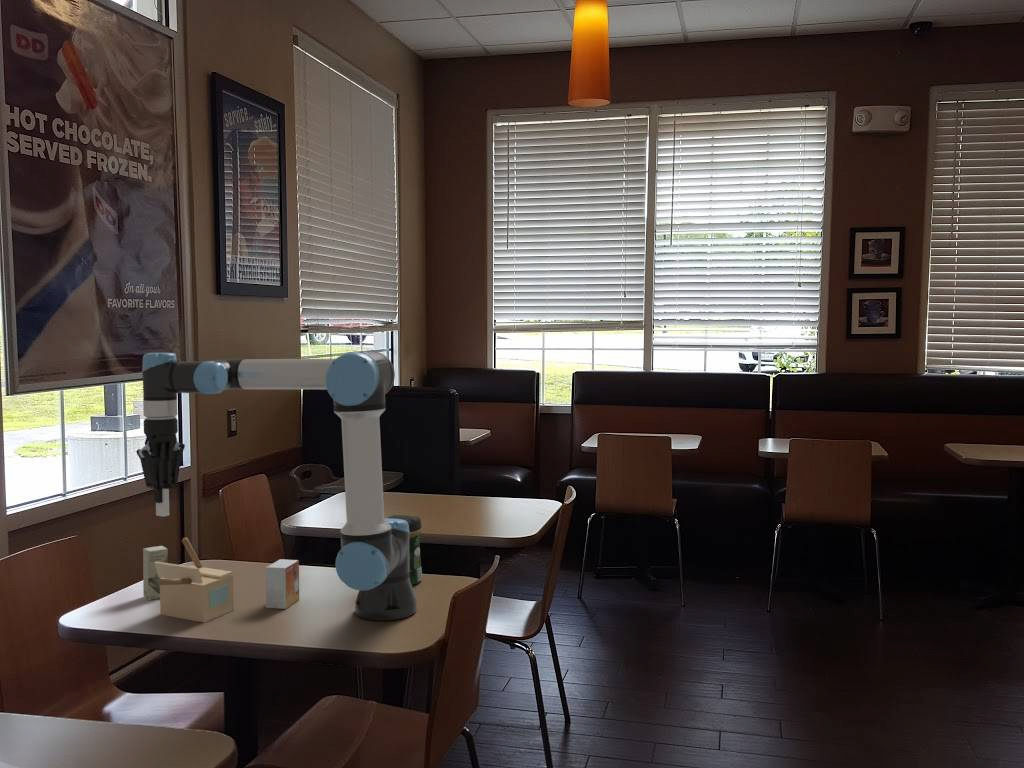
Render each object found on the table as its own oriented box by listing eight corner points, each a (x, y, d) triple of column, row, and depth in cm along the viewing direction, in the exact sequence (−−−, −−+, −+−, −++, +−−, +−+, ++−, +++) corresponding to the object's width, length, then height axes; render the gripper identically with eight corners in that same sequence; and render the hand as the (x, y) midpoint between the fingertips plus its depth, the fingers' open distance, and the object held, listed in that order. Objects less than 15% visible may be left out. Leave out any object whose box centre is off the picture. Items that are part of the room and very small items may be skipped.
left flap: (197, 561, 205) (168, 582, 198) (202, 583, 207) (174, 604, 200) (154, 555, 211) (124, 575, 203) (160, 576, 213) (131, 597, 205)
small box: (286, 609, 217) (285, 568, 217) (265, 608, 218) (264, 567, 218) (300, 599, 225) (299, 559, 224) (280, 598, 226) (279, 558, 226)
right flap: (233, 573, 217) (232, 537, 216) (215, 580, 211) (214, 542, 211) (191, 567, 222) (190, 531, 222) (173, 573, 217) (172, 537, 216)
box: (148, 600, 224) (147, 551, 223) (143, 596, 228) (141, 548, 227) (169, 596, 228) (168, 548, 227) (163, 592, 231) (162, 544, 230)
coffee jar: (381, 584, 238) (380, 517, 237) (394, 576, 246) (394, 511, 245) (413, 587, 235) (413, 519, 234) (426, 579, 243) (425, 513, 241)
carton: (234, 610, 217) (233, 574, 216) (204, 622, 208) (203, 585, 207) (191, 602, 223) (190, 568, 222) (160, 614, 214) (159, 578, 213)
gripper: (169, 414, 215) (171, 508, 217) (126, 419, 203) (129, 519, 205) (193, 415, 212) (194, 511, 213) (150, 421, 200) (152, 522, 202)
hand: (162, 515), depth 209 cm, fingers closed
